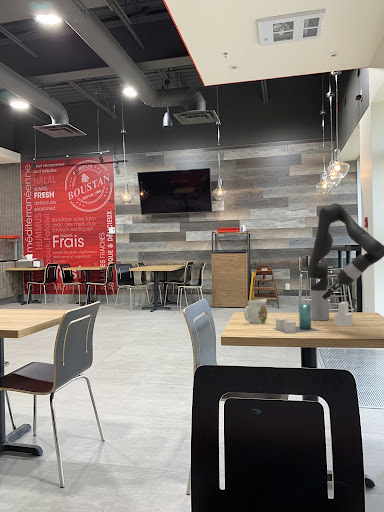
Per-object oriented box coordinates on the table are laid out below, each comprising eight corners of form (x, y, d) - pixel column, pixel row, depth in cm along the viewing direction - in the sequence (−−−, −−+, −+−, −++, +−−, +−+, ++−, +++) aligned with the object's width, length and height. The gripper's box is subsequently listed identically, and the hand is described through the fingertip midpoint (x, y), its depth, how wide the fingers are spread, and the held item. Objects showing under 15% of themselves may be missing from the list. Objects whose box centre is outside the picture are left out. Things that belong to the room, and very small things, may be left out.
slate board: (304, 328, 220) (304, 325, 220) (321, 333, 207) (321, 330, 207) (272, 331, 214) (272, 328, 214) (286, 336, 201) (286, 333, 201)
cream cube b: (282, 328, 215) (282, 318, 215) (287, 329, 211) (286, 319, 211) (275, 328, 214) (275, 318, 214) (279, 330, 210) (279, 319, 210)
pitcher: (237, 326, 231) (237, 301, 231) (259, 322, 243) (258, 298, 242) (252, 328, 223) (252, 302, 222) (274, 324, 234) (274, 299, 234)
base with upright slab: (337, 322, 236) (337, 301, 236) (354, 324, 231) (354, 302, 231) (332, 325, 229) (332, 303, 229) (349, 326, 224) (349, 304, 224)
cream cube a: (291, 330, 208) (291, 320, 208) (295, 332, 204) (295, 321, 204) (284, 331, 206) (283, 321, 206) (288, 332, 203) (288, 322, 202)
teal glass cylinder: (306, 327, 216) (306, 303, 215) (313, 329, 210) (313, 305, 210) (297, 328, 214) (297, 304, 214) (303, 330, 209) (303, 305, 208)
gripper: (345, 267, 210) (322, 290, 215) (341, 269, 197) (316, 293, 202) (357, 278, 207) (333, 301, 213) (353, 280, 195) (328, 304, 200)
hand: (325, 297), depth 207 cm, fingers open, 8 cm apart
